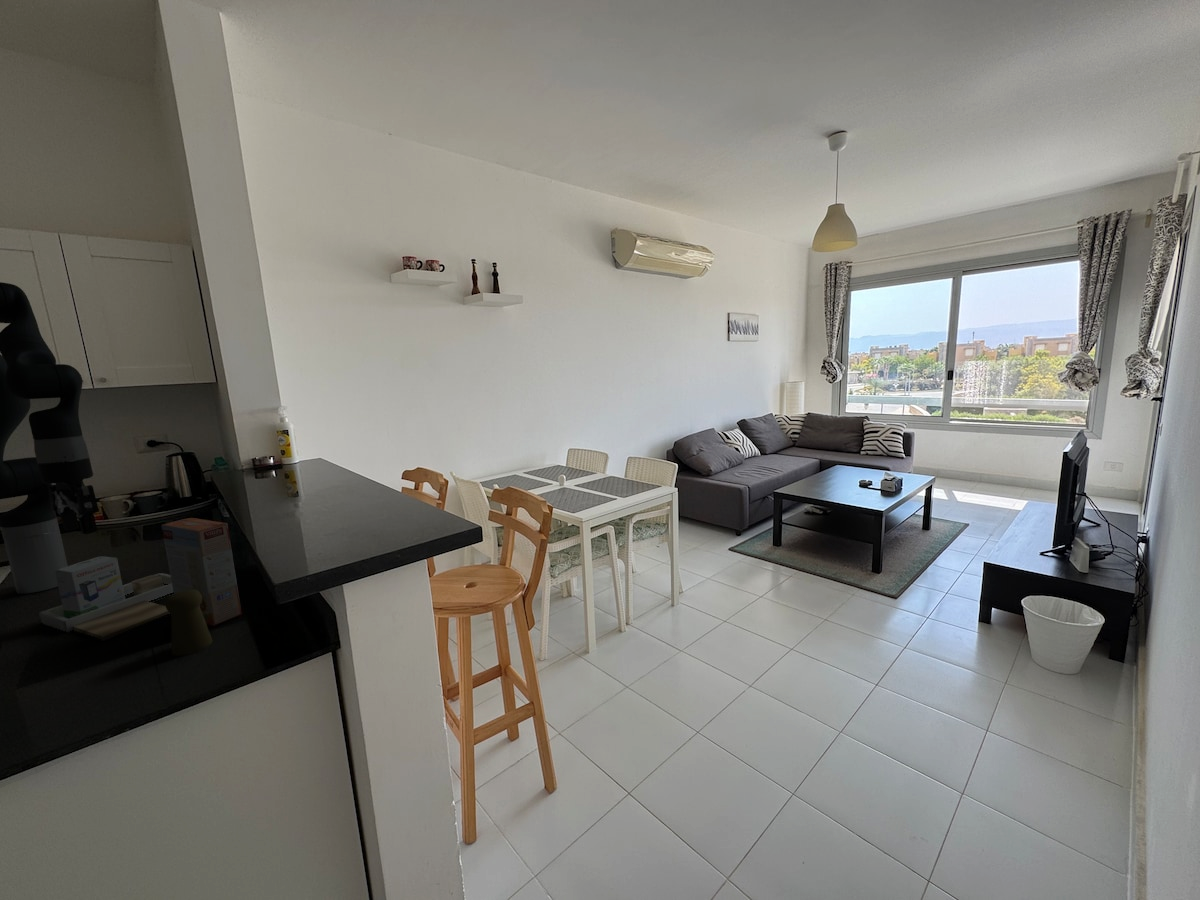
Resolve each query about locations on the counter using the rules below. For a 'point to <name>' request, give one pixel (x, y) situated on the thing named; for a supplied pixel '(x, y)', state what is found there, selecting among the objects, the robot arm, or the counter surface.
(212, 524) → the cracker box
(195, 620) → the pepper shaker
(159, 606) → the striped wooden board
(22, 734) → the counter surface
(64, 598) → the ink box
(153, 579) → the beech block
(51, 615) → the white slotted tray
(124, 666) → the counter surface
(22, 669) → the counter surface
